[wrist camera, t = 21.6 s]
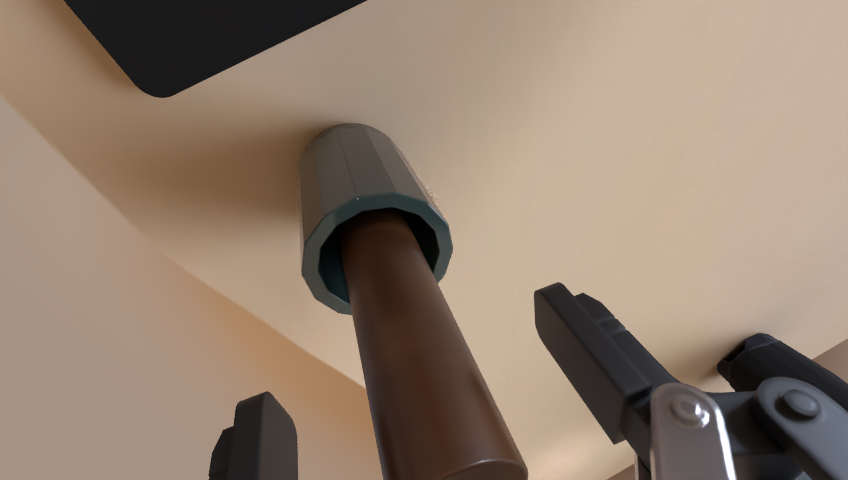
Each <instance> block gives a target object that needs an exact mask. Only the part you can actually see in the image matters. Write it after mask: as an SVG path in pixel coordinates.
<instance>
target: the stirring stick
mask: <svg viewBox="0 0 848 480" xmlns="http://www.w3.org/2000/svg"><path fill="white" fill-rule="evenodd" d="M336 231H337V236H338V242H339V247H340V252H341V258H342V263H343V268H344V273H345V279H346V284H347V289H348V294H349V300H350V305H351V310H352V316H353V321H354V326H355V331H356V337H357V342H358V347H359V353H360V358H361V363H362V368H363V374H364V379H365V384H366V390H367V395H368V400H369V405H370V411H371V416H372V421H373V426H374V431H375V437H376V442H377V448H378V453H379V458H380V463H381V469H382V474H383V479H384V480H528V470H527V467H526V465H525V463H524V461H523V459H522V456H521V454H520V452H519V450H518V448H517V446H516V444H515V442H514V440H513V438H512V436H511V434H510V432H509V430H508V428H507V426H506V424H505V421H504V419H503V417H502V415H501V413H500V411H499V409H498V407H497V405H496V403H495V401H494V399H493V397H492V395H491V393H490V391H489V389H488V387H487V384H486V382H485V380H484V378H483V376H482V374H481V372H480V370H479V368H478V366H477V364H476V362H475V360H474V358H473V356H472V354H471V352H470V349H469V347H468V345H467V343H466V341H465V339H464V337H463V335H462V333H461V331H460V329H459V327H458V325H457V323H456V321H455V319H454V317H453V315H452V312H451V310H450V308H449V306H448V304H447V302H446V300H445V298H444V296H443V294H442V292H441V290H440V288H439V286H438V284H437V282H436V280H435V278H434V275H433V273H432V271H431V269H430V267H429V265H428V263H427V261H426V259H425V257H424V255H423V253H422V251H421V249H420V247H419V245H418V243H417V240H416V238H415V236H414V234H413V232H412V230H411V228H410V226H409V224H408V222H407V220H406V218H405V216H404V214H403V212H402V210H401V209H397V208H394V207H390V208H382V209H374V210H367V211H362V212H360V213H358V214H356V215H355V216H353V217H351V218H349V219H348V220H346V221H344V222H342V223H341V224H339V225H337V226H336Z"/></svg>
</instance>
